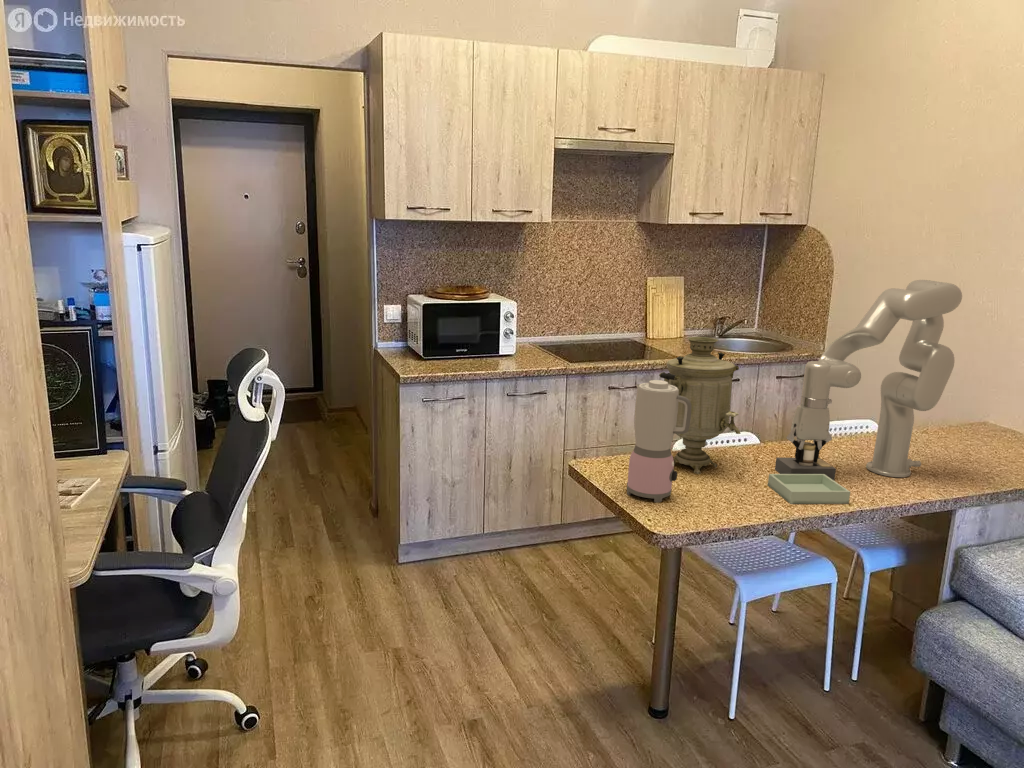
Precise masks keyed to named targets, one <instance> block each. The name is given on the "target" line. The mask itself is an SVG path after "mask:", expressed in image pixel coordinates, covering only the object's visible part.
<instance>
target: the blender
mask: <svg viewBox="0 0 1024 768" xmlns="http://www.w3.org/2000/svg"><path fill="white" fill-rule="evenodd" d="M635 386H636V397H635V404H634V419H633V422H634V437H635V445H634V448H633V451H631V454H630V456H629V459H628V460H629V461H628V473H627V482H626V495H628V496H631V495H635V496H637V497H642V498H647V499H653V502H654V503H661V502H663V499H664V498H667V497H669V496H671V495H672V489H673V487H672V486H673V482H675V481H677V478H678V471H677V470H675V469H674V467H675V463H674V460H673V459H674V457H673V454H672V450H671V446H672V442H673V439H674V435H676V434H684V433H687V432H688V430H689V426H690V419H691V409H692V405H691V402H690V400H689V399H688V398H686V397H683V396H679V395H678V394H679V390H678V388H677V387H675V386H673V385H669V384H668V382H666V381H664V380H660V379H652V380H649V381H648V382H643V383H636V384H635ZM678 402H681V403H683V404H684V405H685V413H684V422H683V427H682V428H679V427H676V422H677V412H678Z"/></svg>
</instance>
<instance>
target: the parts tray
mask: <svg viewBox="0 0 1024 768" xmlns="http://www.w3.org/2000/svg"><path fill="white" fill-rule="evenodd" d="M767 486H768V487H769V488H771V490H773V491H774V492H775V493H776V494H777V495H779V496H780V497H781V498H782V499H784V500H785V501H786V502H787V503H789V504H790V505H804V504H805V505H812V504H813V505H817V504H818V505H825V504H826V505H829V504H831V505H833V504H835V505H838V504H839V505H840V504H841V505H843V504H844V505H847V504H849V503H850V497H851V491H850V490H848V489H847V488H846V487H844V486H842V485H841V484H839V483H838V482H837V481H836V480H832V479H831V478H829V477H828V476H826V475H825V474H780V473H768V479H767Z"/></svg>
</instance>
